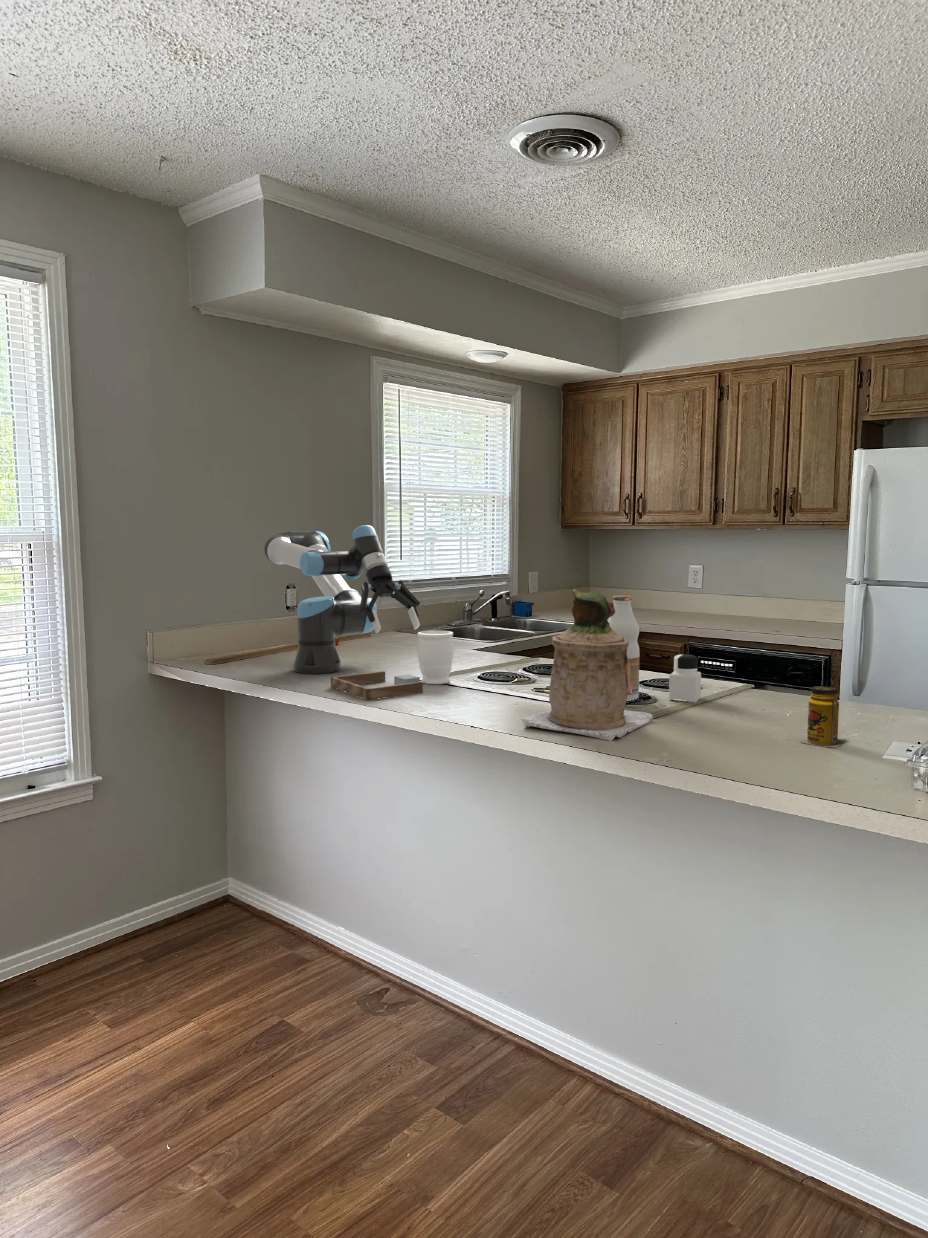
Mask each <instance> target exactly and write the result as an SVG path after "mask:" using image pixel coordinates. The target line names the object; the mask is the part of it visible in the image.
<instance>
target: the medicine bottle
mask: <svg viewBox="0 0 928 1238" xmlns="http://www.w3.org/2000/svg"><path fill="white" fill-rule="evenodd" d="M668 681H669V683H668V685H669V686H668V699H669V698H670V699H681V700H686V701H690V702H689V703H692V702H693V703H692V704H695V703H697V702H698V701H699V700H700V699H701V695H702V693H701V692H702V691H701V690H702V688H701V686H702V684H701V683H702V673H701V671H698V657H697V656H696V655H693V654H684V653H683V654H681V653H680V654H677V655H675V656H674V657H673V672H671V673H669V680H668Z"/></svg>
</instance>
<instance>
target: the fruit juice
mask: <svg viewBox="0 0 928 1238" xmlns="http://www.w3.org/2000/svg"><path fill="white" fill-rule="evenodd" d="M632 601H633V598H632V596H631V595H625V594H624V595H621V594H620V595H619V594H618V595H613V596H612V603H613V605H614V609H615V614H614V615H613V616H611V617H609V618H608V620H607V621H608V622H609V625H610V628H611V629H613V630H614V631H616V632H619V633H620V634H621V635H622V636H623V637H624V639H626V640H628V642H629V646H628V647H627V658H628V659H627V664H626V675H627V681H628V696H627V699H626V701H631V700H634V699H637V698H638V699H639V696H640V695H639V692H640V691H639V689H640V645H639V642H638V638H639V634H640V625H639V623H638V622H637V620H636V617H635V615H634V611H633V607H632V604H631V603H632Z"/></svg>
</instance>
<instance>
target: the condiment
mask: <svg viewBox="0 0 928 1238" xmlns="http://www.w3.org/2000/svg"><path fill="white" fill-rule="evenodd" d="M838 692H839V691H838V689H837V688H835V687H832V686H823V685H821V686H813V687H811V689H810V699H809V700H808V712H807V738H806V739H804V740H802V741H801V742H800V743H802V744H807V745H813V746H819V747H827V748H835V749H836V748H838V747H839V746H841V745H843V743H845V742H846V741H847V740H849V739H846V738H843V739H842V738H839V716H840V715H839V712H840V709H839V708H840V702H839V700H838Z"/></svg>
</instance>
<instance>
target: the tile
mask: <svg viewBox="0 0 928 1238" xmlns="http://www.w3.org/2000/svg"><path fill="white" fill-rule="evenodd" d="M393 678H394V679H393V680H394V682H393V683H394V684H393V685H399V684H407V683H414V682H421V678H420V676H416V675H412V674H403V675H394V676H393Z"/></svg>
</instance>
